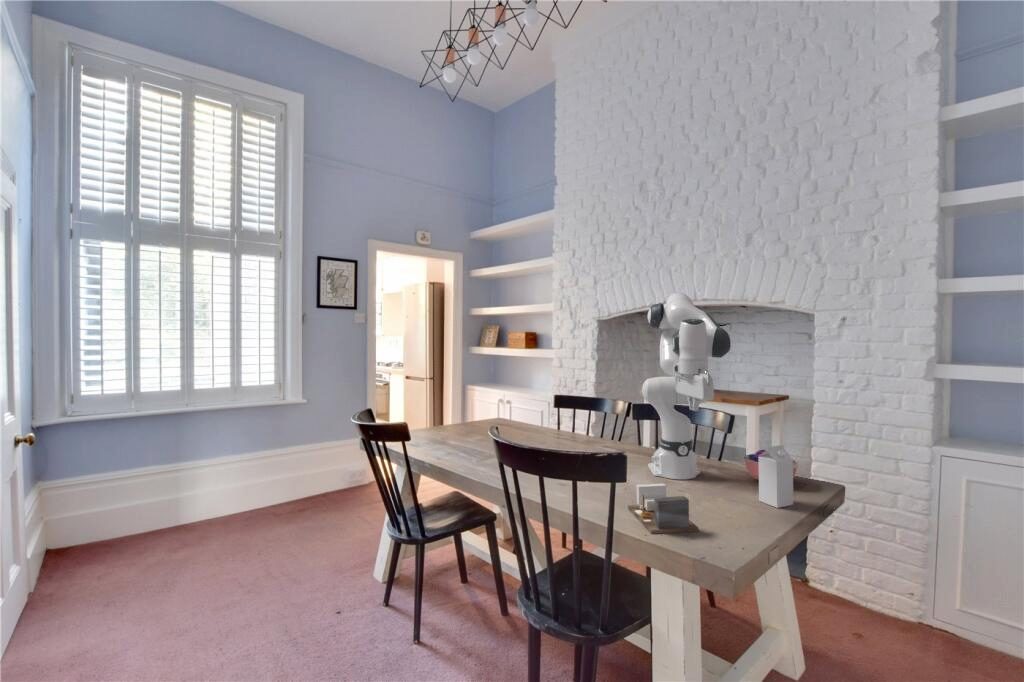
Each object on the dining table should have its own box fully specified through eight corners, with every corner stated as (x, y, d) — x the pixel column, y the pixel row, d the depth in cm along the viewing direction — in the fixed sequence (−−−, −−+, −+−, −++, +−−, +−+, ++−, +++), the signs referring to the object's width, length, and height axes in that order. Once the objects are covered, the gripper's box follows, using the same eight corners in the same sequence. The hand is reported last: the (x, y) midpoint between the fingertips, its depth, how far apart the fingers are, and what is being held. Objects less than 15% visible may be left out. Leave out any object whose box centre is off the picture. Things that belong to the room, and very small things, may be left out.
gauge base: (627, 508, 156) (627, 480, 156) (669, 505, 158) (668, 478, 158) (651, 533, 137) (650, 502, 136) (698, 530, 138) (697, 499, 138)
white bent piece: (636, 505, 155) (636, 484, 155) (663, 504, 156) (663, 483, 156) (646, 515, 147) (645, 493, 146) (675, 513, 147) (674, 492, 147)
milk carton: (758, 501, 160) (758, 444, 160) (774, 498, 162) (773, 442, 162) (777, 508, 153) (776, 449, 153) (793, 505, 156) (792, 446, 155)
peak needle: (641, 515, 146) (640, 494, 146) (650, 515, 146) (649, 494, 146) (642, 516, 145) (641, 495, 145) (651, 516, 145) (650, 494, 145)
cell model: (773, 492, 168) (773, 460, 168) (732, 476, 187) (732, 447, 187) (811, 487, 173) (811, 456, 172) (767, 472, 192) (767, 444, 192)
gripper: (719, 370, 148) (719, 415, 148) (688, 366, 168) (689, 405, 168) (699, 371, 147) (700, 416, 147) (671, 366, 167) (671, 406, 168)
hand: (694, 410), depth 158 cm, fingers closed
